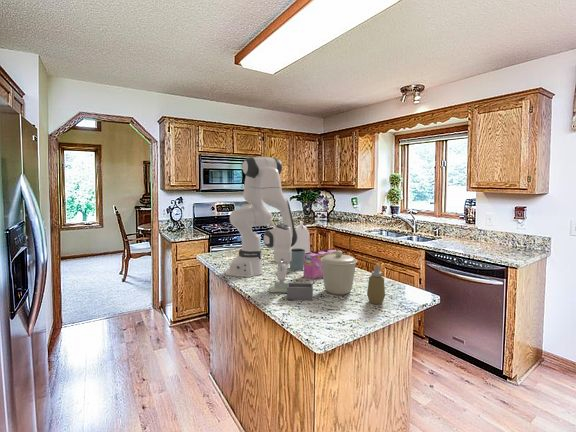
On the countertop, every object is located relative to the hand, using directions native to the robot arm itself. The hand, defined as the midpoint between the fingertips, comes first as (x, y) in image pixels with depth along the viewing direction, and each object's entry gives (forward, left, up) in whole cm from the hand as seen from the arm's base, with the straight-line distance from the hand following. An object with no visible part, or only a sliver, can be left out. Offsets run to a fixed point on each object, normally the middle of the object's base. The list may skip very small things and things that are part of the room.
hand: (282, 283), depth 169 cm
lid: (0, 0, -3) cm, 3 cm away
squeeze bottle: (+44, -13, -4) cm, 46 cm away
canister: (+28, +1, -4) cm, 28 cm away
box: (+9, -9, -4) cm, 13 cm away
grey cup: (+6, +43, -4) cm, 44 cm away
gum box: (+21, +32, -4) cm, 38 cm away
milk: (+8, +73, -4) cm, 74 cm away
